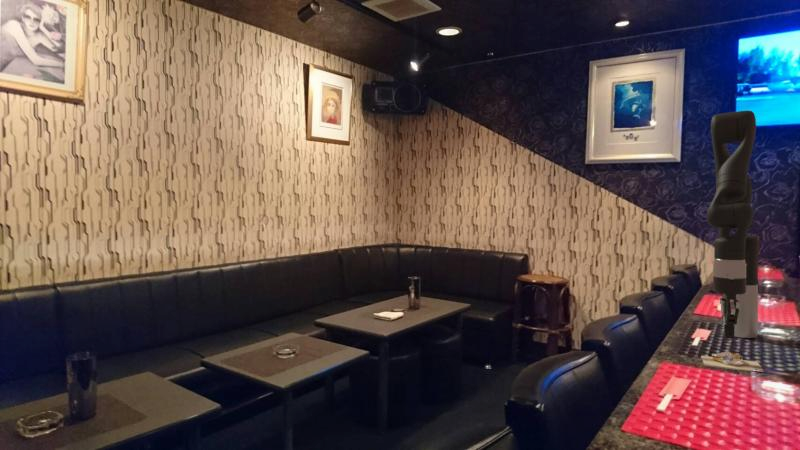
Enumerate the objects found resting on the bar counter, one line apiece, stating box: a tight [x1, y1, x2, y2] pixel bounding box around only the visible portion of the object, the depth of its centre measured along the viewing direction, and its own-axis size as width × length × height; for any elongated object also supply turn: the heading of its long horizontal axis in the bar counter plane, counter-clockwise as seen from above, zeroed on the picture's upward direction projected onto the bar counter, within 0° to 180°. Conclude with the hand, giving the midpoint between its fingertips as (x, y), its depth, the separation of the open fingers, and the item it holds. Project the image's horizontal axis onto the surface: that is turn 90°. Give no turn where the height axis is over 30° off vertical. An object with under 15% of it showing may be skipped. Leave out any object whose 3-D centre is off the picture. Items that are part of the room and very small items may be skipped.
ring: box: [711, 351, 743, 364], centre depth 133 cm, size 7×3×8 cm
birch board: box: [700, 355, 764, 373], centre depth 130 cm, size 9×13×1 cm
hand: (729, 337), depth 133 cm, fingers closed
